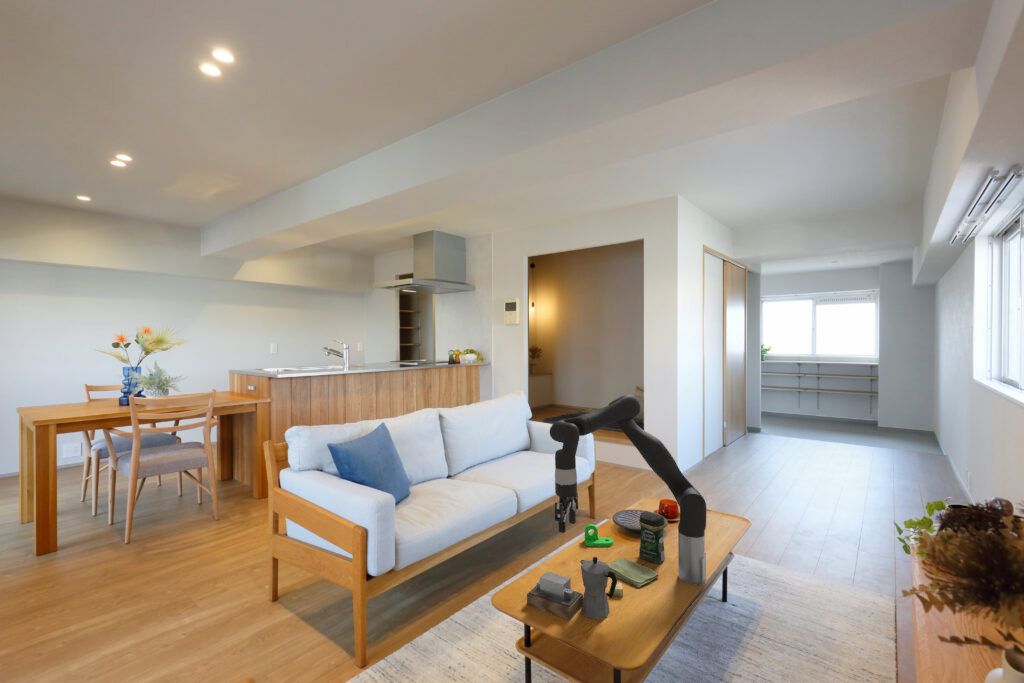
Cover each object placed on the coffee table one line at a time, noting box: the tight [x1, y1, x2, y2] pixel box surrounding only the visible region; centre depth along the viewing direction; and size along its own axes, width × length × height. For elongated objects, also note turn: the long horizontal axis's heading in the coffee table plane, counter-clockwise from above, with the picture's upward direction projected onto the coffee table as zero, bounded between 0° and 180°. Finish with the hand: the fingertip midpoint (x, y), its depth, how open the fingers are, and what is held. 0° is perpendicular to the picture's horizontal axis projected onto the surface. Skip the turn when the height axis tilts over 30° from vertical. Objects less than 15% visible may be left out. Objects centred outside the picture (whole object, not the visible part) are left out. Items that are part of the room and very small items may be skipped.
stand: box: [526, 584, 584, 621], centre depth 158 cm, size 16×10×4 cm, turn 57°
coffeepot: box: [579, 556, 618, 620], centre depth 153 cm, size 15×9×18 cm, turn 39°
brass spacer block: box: [609, 582, 624, 598], centre depth 165 cm, size 4×4×3 cm
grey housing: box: [536, 570, 575, 600], centre depth 158 cm, size 5×13×5 cm, turn 57°
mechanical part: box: [584, 523, 614, 548], centre depth 205 cm, size 12×6×8 cm, turn 89°
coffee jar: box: [638, 510, 666, 564], centre depth 191 cm, size 10×8×19 cm
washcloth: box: [606, 557, 659, 589], centre depth 179 cm, size 13×18×3 cm
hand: (567, 527), depth 161 cm, fingers open, 8 cm apart
